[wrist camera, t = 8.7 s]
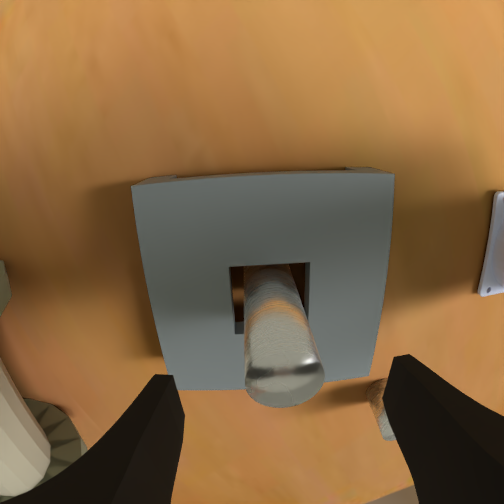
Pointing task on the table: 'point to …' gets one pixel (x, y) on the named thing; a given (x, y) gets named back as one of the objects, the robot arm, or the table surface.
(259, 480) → the table surface
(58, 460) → the spool
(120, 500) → the robot arm
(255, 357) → the long pin
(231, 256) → the board
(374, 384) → the short pin
